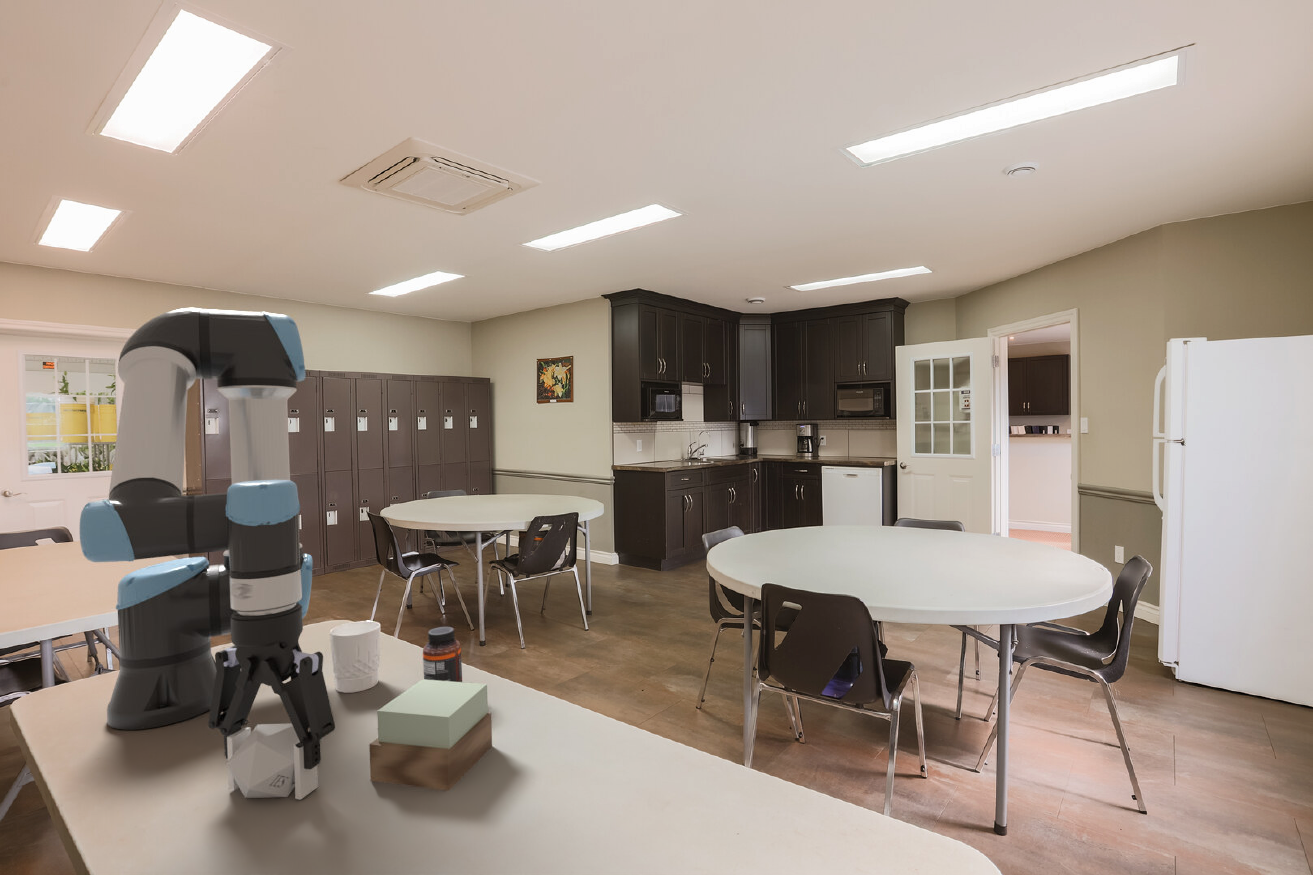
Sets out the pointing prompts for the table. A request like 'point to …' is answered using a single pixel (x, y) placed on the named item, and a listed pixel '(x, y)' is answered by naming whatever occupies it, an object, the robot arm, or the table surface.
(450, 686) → the sage block
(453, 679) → the supplement bottle
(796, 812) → the table surface
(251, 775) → the die
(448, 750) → the walnut slab
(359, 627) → the white cup
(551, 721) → the table surface
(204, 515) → the robot arm
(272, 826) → the table surface
